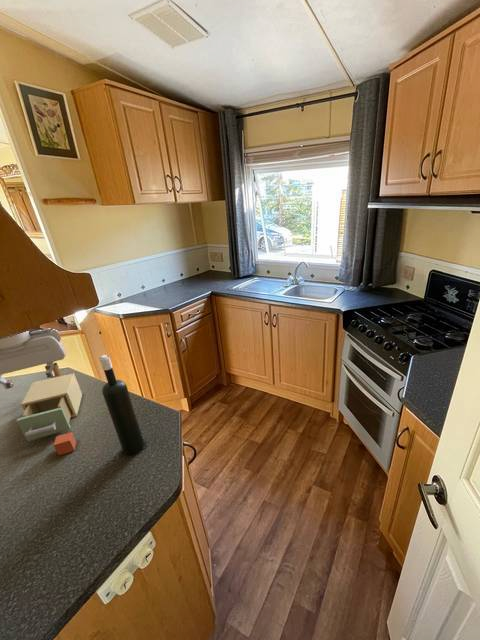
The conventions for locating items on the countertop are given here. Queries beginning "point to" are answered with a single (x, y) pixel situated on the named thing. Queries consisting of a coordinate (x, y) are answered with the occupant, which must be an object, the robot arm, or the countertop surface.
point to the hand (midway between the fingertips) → (31, 381)
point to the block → (65, 443)
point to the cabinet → (55, 391)
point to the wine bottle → (121, 410)
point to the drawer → (45, 418)
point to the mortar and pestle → (54, 370)
